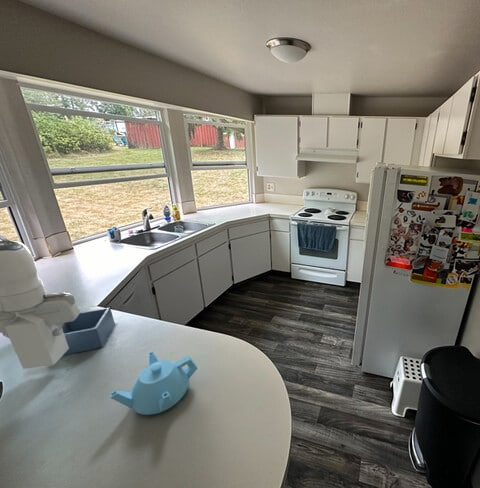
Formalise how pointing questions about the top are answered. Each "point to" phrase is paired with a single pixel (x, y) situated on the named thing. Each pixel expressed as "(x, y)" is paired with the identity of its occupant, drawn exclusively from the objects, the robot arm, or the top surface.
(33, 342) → the milk carton
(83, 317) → the tub
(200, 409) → the top surface
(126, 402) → the teapot
